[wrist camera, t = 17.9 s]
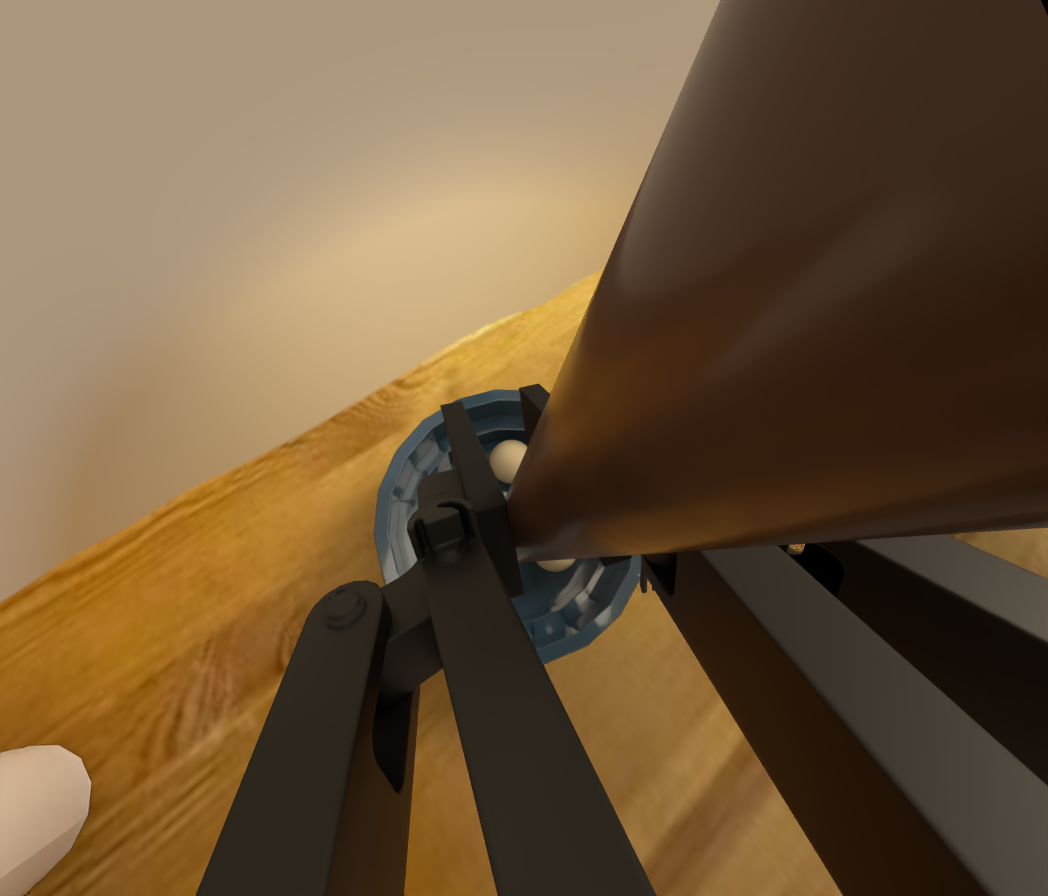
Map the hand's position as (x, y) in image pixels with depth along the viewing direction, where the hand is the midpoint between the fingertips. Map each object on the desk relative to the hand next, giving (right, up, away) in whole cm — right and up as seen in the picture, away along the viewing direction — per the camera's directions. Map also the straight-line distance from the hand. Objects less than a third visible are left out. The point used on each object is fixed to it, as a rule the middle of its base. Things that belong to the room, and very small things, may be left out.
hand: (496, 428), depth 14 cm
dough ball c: (0, -2, +12) cm, 12 cm away
